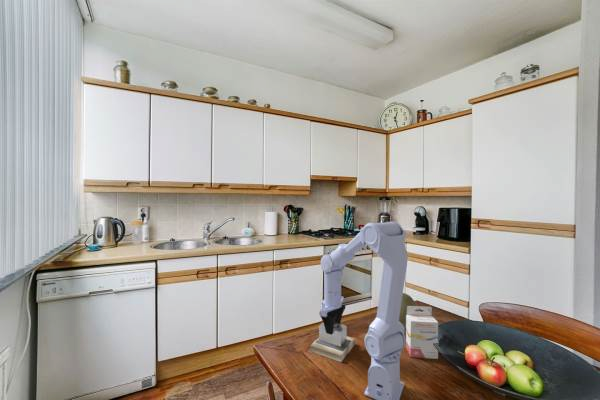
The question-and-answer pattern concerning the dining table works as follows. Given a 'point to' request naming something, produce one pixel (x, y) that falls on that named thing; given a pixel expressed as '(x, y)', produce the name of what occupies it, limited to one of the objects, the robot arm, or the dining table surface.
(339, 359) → the stand
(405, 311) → the fruit
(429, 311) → the ink cartridge box
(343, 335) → the housing
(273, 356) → the dining table surface
